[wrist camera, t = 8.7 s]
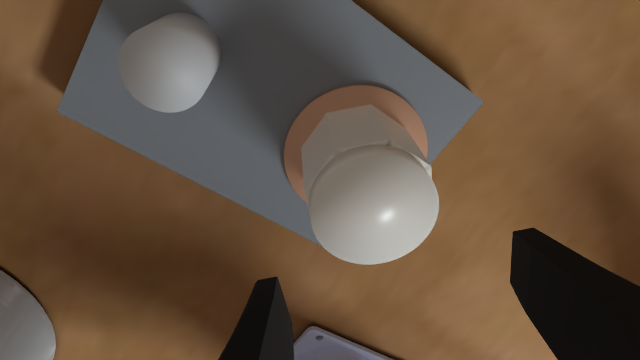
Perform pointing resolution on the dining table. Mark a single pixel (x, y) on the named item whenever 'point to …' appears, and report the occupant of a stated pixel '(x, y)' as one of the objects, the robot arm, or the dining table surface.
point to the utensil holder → (23, 324)
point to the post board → (252, 90)
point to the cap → (367, 186)
